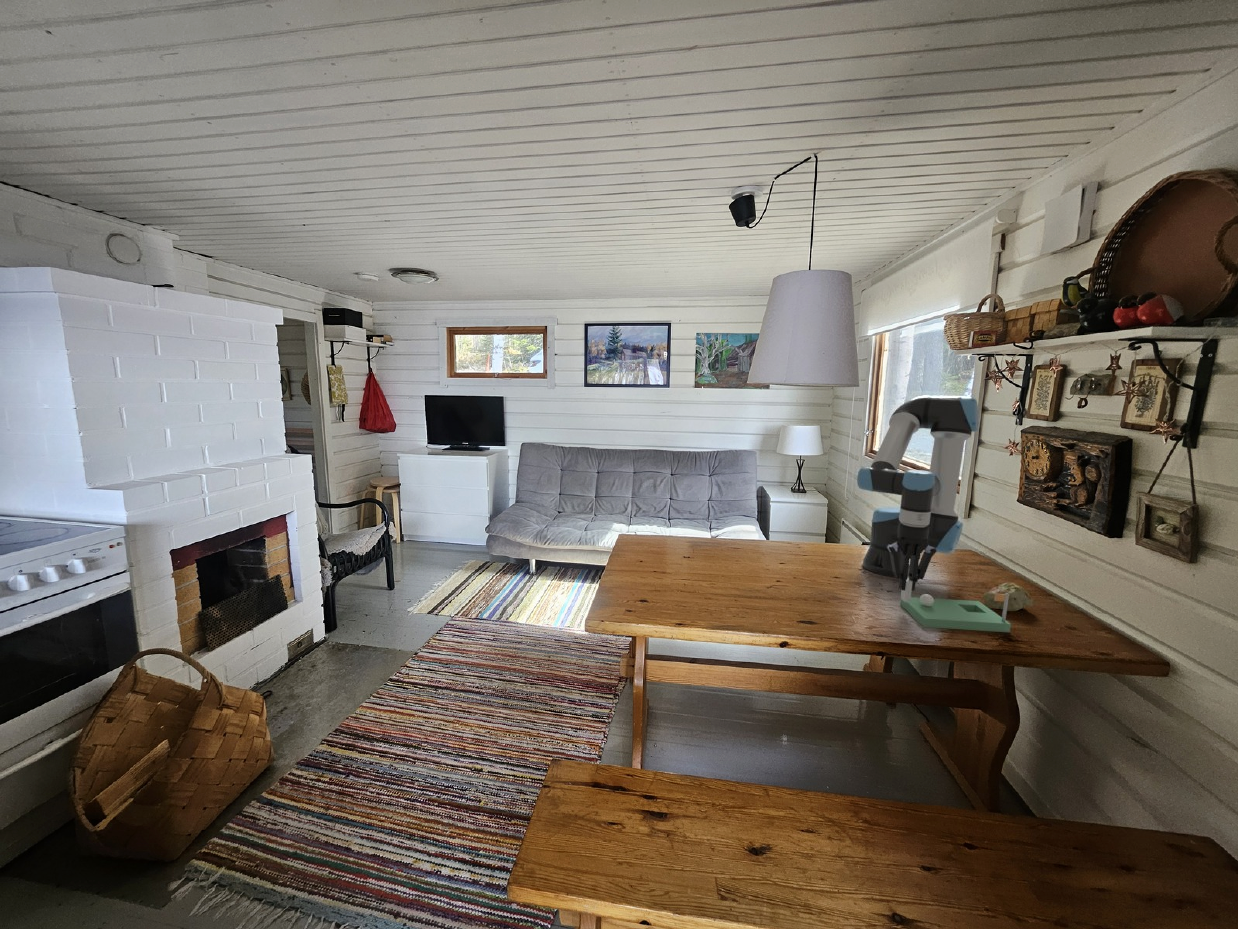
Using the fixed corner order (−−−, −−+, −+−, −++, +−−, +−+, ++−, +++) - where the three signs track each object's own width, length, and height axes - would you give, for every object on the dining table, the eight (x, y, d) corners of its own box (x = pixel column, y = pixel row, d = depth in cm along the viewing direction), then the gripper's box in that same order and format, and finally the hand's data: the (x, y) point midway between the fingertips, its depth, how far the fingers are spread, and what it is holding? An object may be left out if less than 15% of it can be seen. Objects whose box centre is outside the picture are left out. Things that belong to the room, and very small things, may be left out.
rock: (994, 623, 142) (983, 597, 140) (981, 606, 150) (971, 581, 148) (1039, 614, 137) (1029, 586, 135) (1024, 596, 145) (1014, 570, 143)
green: (900, 604, 144) (903, 572, 142) (977, 608, 141) (981, 576, 139) (923, 626, 130) (927, 591, 128) (1009, 632, 127) (1015, 596, 125)
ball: (916, 602, 139) (918, 591, 139) (929, 603, 139) (930, 592, 138) (922, 608, 136) (924, 596, 135) (935, 608, 135) (937, 597, 135)
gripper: (895, 526, 131) (887, 604, 135) (945, 528, 129) (935, 607, 133) (884, 519, 138) (876, 593, 142) (931, 521, 137) (922, 596, 141)
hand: (905, 600), depth 138 cm, fingers closed
